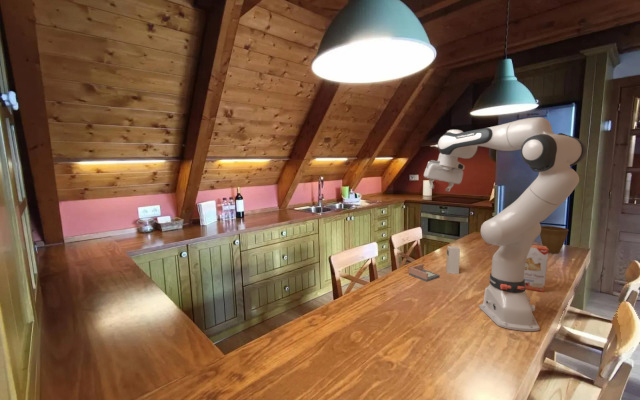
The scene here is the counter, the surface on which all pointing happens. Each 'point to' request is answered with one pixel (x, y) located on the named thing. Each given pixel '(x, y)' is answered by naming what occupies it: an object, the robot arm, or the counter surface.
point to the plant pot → (553, 238)
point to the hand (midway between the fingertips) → (439, 189)
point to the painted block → (453, 259)
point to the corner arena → (422, 273)
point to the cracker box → (536, 268)
